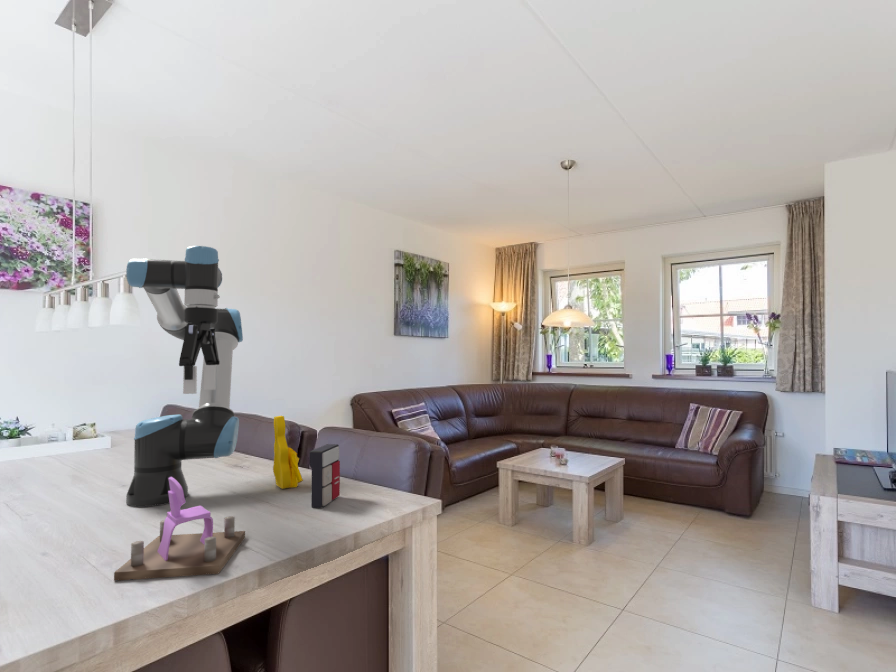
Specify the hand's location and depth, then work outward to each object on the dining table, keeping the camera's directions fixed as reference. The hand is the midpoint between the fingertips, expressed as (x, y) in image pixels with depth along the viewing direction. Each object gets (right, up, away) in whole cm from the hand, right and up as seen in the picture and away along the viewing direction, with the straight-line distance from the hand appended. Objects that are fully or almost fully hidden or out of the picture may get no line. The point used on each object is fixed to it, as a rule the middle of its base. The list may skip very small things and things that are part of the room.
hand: (200, 391), depth 122 cm
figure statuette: (+12, -33, +28) cm, 45 cm away
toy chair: (+10, -29, -24) cm, 39 cm away
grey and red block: (+29, -32, +12) cm, 45 cm away
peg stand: (+10, -31, -24) cm, 40 cm away
